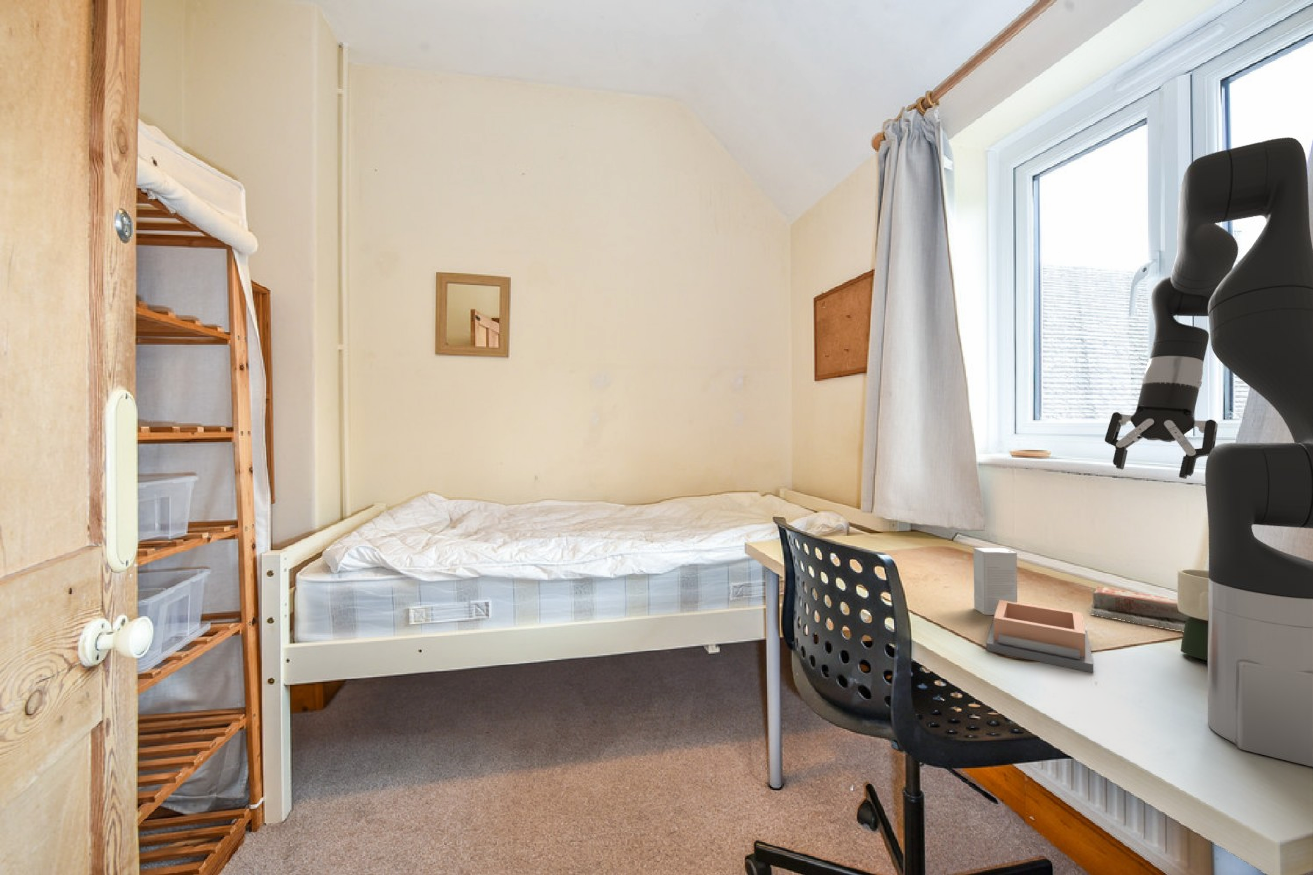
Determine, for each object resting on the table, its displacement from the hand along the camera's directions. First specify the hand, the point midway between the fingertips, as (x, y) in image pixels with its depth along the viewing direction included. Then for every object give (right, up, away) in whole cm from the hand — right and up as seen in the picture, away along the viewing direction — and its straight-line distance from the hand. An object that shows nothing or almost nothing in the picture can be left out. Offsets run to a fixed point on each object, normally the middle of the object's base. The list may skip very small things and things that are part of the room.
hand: (1150, 473), depth 95 cm
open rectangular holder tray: (-27, -27, -9) cm, 39 cm away
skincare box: (-24, -27, +6) cm, 37 cm away
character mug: (-5, -27, -16) cm, 32 cm away
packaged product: (+3, -28, +2) cm, 28 cm away
